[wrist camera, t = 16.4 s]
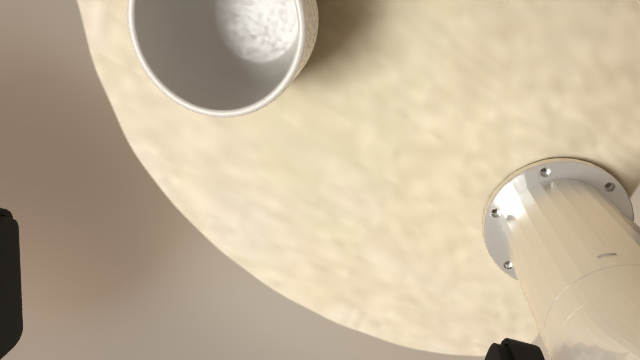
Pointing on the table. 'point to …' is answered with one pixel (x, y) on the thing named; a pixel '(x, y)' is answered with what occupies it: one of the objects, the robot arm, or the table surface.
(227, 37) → the planter
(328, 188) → the table surface
